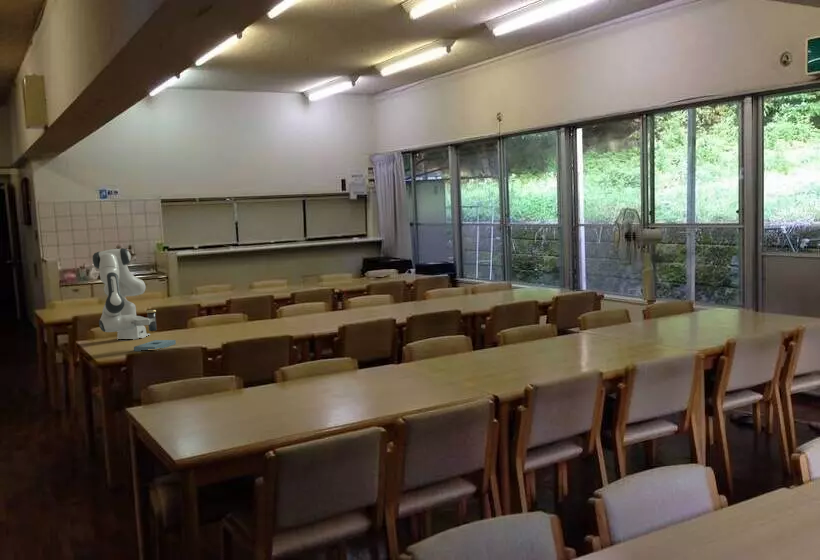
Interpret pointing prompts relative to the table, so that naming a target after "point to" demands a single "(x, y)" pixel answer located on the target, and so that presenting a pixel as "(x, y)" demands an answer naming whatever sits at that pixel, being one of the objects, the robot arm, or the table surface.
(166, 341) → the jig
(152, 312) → the dark grey cylinder
